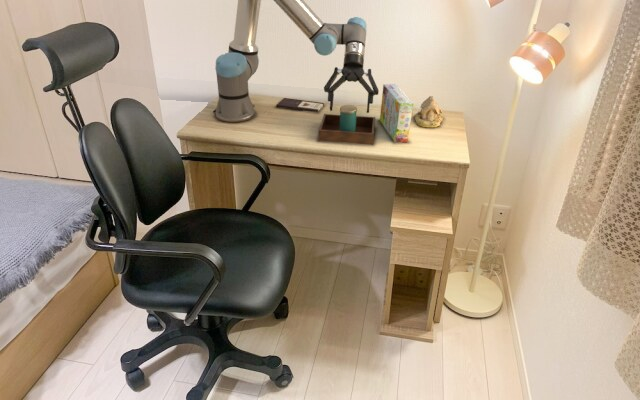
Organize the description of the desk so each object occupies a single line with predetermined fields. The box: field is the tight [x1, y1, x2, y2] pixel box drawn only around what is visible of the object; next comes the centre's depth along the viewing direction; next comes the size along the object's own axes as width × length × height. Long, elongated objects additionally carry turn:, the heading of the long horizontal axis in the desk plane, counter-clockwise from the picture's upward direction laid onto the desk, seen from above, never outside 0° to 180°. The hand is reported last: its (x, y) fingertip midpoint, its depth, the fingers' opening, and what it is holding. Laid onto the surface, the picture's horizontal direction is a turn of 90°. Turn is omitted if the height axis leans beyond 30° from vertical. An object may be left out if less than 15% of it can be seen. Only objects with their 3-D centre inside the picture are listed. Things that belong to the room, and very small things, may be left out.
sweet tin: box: [339, 104, 358, 132], centre depth 175 cm, size 6×6×10 cm
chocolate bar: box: [275, 97, 325, 113], centre depth 201 cm, size 9×1×18 cm
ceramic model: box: [414, 95, 444, 128], centre depth 187 cm, size 14×11×10 cm
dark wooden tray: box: [318, 113, 376, 145], centre depth 177 cm, size 20×16×4 cm
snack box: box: [379, 83, 414, 143], centre depth 177 cm, size 21×6×15 cm, turn 9°
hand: (349, 110), depth 176 cm, fingers open, 13 cm apart
